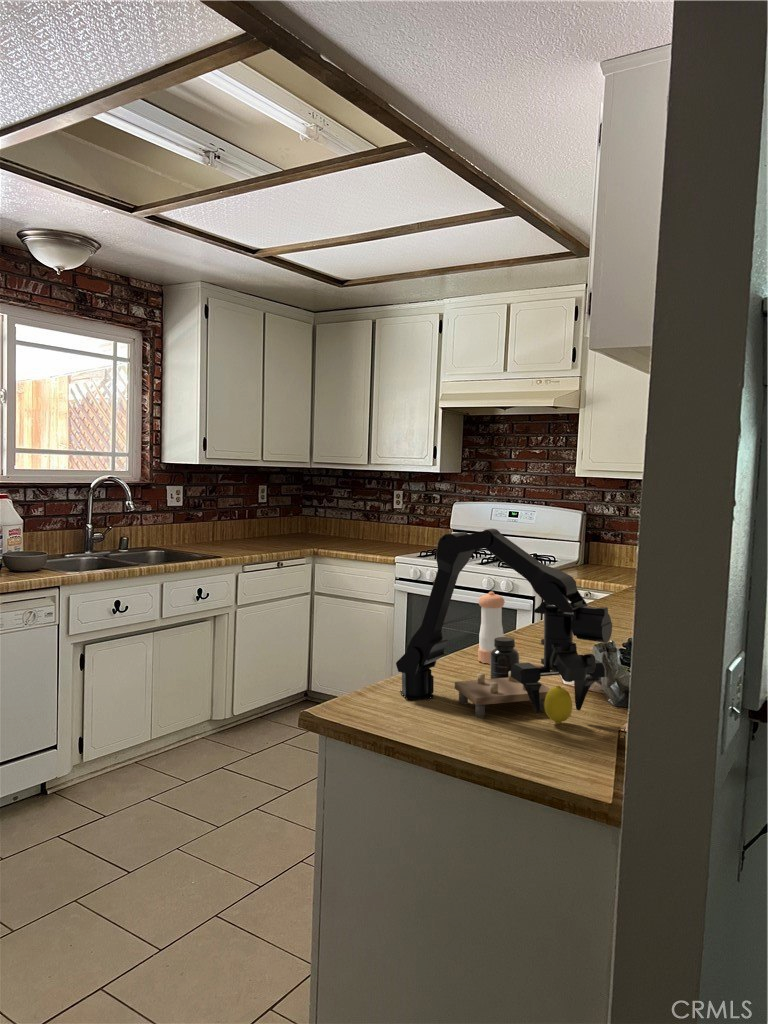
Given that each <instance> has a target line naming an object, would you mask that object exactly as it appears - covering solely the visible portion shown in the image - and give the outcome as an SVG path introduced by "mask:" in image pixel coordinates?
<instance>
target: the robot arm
mask: <svg viewBox="0 0 768 1024" xmlns="http://www.w3.org/2000/svg"><path fill="white" fill-rule="evenodd" d="M436 546H437V547H436V554H435V559H436V560H435V561H436V564H437V571H436V574H435V578H434V581H433V584H432V588H431V591H430V595H429V598H428V601H427V604H426V608H425V611H424V614H423V617H422V620H421V624H420V626H419V627H418V628H417V630H416V631H415V632H414V634H412V636H411V637H410V640H409V642H408V644H407V646H406V649H405V653H404V654H403V655H402V656H401V657H400V658H399V659H398V660H397V661H396V663H395V665H396V668H397V671H398V673H401V690H402V691H401V690H400V691H399V693H400V692H401V693H402V694H403V695H404V696H405V697H406V699H416V700H420V699H419V698H428V699H434V698H435V695H434V691H435V690H434V685H435V683H434V682H435V681H434V675H432V669H433V668H435V667H436V663H437V661H438V660H439V659H440V658H441V657H442V656H444V655H445V647H446V646H447V643H448V639H447V638H444V637H443V633H442V632H443V631H442V630H443V626H444V623H445V619H446V616H447V613H448V610H449V607H450V603H451V600H452V597H453V593H454V590H455V587H456V584H457V580H458V577H459V575H460V573H461V572H462V570H463V569H464V567H465V566H466V565H467V564H468V563H469V560H470V559H471V557H472V555H473V553H474V551H478V550H482V549H485V550H486V551H488V552H490V554H492V555H493V556H495V557H496V558H497V559H499V560H500V561H501V562H503V563H504V564H506V565H507V566H508V567H510V568H511V569H512V570H514V571H515V572H516V573H517V574H519V575H521V577H523V578H524V579H526V581H527V582H528V583H529V584H530V585H531V588H532V590H533V591H534V592H535V594H537V595H538V596H539V597H540V599H542V601H541V603H540V604H539V605H538V606H537V607H536V608H535V609H534V610H533V612H534V614H540V615H541V614H542V615H543V638H541V640H540V643H541V645H543V658H541V659H540V664H541V665H543V666H536V665H534V664H533V663H531V662H519V663H516V664H514V665H513V666H512V668H511V677H512V678H514V679H515V680H517V681H518V682H520V683H522V684H523V686H524V687H525V689H526V691H527V693H528V696H529V698H530V700H529V701H530V703H531V705H532V707H533V711H534V712H535V714H536V715H540V712H541V711H540V696H539V689H540V687H541V685H542V684H543V683H541V682H540V680H541V678H542V677H546V676H549V677H550V676H551V677H552V676H560V677H561V678H562V680H563V681H564V682H567V683H572V682H573V684H574V685H573V686H574V688H573V689H574V703H575V709H576V710H577V711H581V710H582V707H583V705H584V702H585V699H586V697H587V694H588V691H589V690H590V688H591V687H592V685H594V683H596V682H599V681H600V680H601V678H605V677H606V673H607V672H606V671H607V670H606V666H605V664H604V662H602V661H599V660H597V659H596V656H595V655H594V654H593V653H587V654H586V653H585V654H579V653H578V651H577V648H578V647H577V643H575V642H574V639H573V637H574V636H575V637H576V638H577V639H578V640H584V641H592V642H597V643H599V642H600V643H608V642H609V641H610V640H611V637H612V632H613V622H612V619H611V616H610V614H609V608H608V607H605V606H598V607H597V606H596V607H595V606H588V603H587V602H586V600H585V598H584V597H583V596H582V595H581V593H580V591H579V589H578V587H577V581H576V579H575V578H574V577H573V576H572V575H570V574H568V573H566V572H563V571H562V570H561V569H560V570H559V569H558V568H554V567H551V566H549V565H546V564H544V563H542V562H541V561H539V560H537V559H536V558H535V557H534V556H532V555H530V553H528V552H527V551H525V550H524V549H522V547H520V546H518V545H517V544H515V542H513V541H511V540H510V539H509V538H507V537H506V536H504V535H503V534H502V533H501V532H500V531H499V529H497V528H488V529H486V528H485V529H483V530H481V531H478V532H477V531H476V532H474V533H468V532H465V531H461V532H452V533H446V534H444V535H442V536H441V537H440V538H439V540H438V541H437V545H436ZM431 668H432V669H431ZM539 682H540V683H541V684H540V683H539ZM401 693H400V694H401ZM402 694H401V695H402ZM403 695H402V696H403ZM430 697H431V698H430ZM433 697H434V698H433ZM406 699H405V700H406Z"/></svg>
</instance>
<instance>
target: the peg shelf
mask: <svg viewBox="0 0 768 1024" xmlns="http://www.w3.org/2000/svg"><path fill="white" fill-rule="evenodd" d="M485 677H486V674H485V673H477V679H473V680H463V681H454V689H455V690H456V691H458V703H459V704H460V703H461V704H460V705H468V704H469V701H470V702H472V703H473V704H474V705H475V706H474V708H475V709H474V711H475V712H474V715H475V718H478V719H483V718H485V717H486V710H485V709H486V705H491V704H493V705H494V704H505V703H515V702H516V703H517V702H526V701H527V702H528V701H530V698H529V696H528V693H527V691H526V689H525V687H524V686H523V684H522V683H520V682H518V681H517V680H515V679H514V678H512V677H511V671H509V677H508V678H496V679H491V678H488V679H487V678H485ZM538 682H539V683H540V684H542V685H541V687H540V689H539V696H540V712H542V713H543V712H544V713H546V712H545V698H546V694H547V693H548V691H549V690H550V689H551V688H550V687H548V686H546V685H545V684H543V683H542V682H540V681H538Z"/></svg>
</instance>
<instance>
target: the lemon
mask: <svg viewBox="0 0 768 1024" xmlns="http://www.w3.org/2000/svg"><path fill="white" fill-rule="evenodd" d="M572 711H573V700H572V697H571V695H570V692H568V691H567V689H565V688H564V687H561V686H560V685H556V686H555V687H552V688H550V690H549V691H548V693H547V694H546V698H545V712H544V713H545V714H546V716H547V717H548V718H549V719H550V720H551V721H553V722H555V724H557V725H560V724H562V723H563V722H565V721H567V720H568V719H569V718H570V716H571V714H572Z"/></svg>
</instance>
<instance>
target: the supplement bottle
mask: <svg viewBox="0 0 768 1024" xmlns="http://www.w3.org/2000/svg"><path fill="white" fill-rule="evenodd" d="M494 647H495V649H494V650H492V652H491V654H490V668H489V669H490V679H496V678H508V677H509V671H511V668H512V666H513V665H514V664H516V663H520V653H519V651H518V650H517V649H515V647H516V642H515V638H514V637H510V636H509V637H508V636H504V637H498V638H495V639H494Z"/></svg>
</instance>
